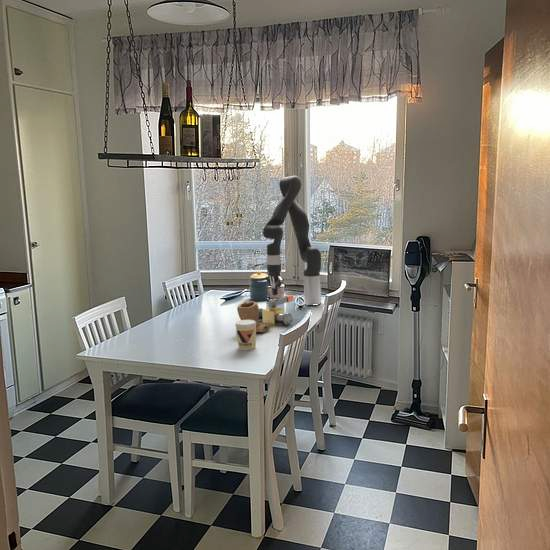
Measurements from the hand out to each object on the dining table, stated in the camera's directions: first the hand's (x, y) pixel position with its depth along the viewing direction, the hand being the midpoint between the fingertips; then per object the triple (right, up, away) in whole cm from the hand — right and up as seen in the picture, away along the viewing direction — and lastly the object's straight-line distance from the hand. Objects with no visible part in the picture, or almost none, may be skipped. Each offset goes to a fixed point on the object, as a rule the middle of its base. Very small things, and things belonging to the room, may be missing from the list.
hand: (275, 294), depth 309 cm
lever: (+3, -4, -7) cm, 9 cm away
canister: (-9, -4, +44) cm, 46 cm away
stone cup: (-11, -18, -25) cm, 32 cm away
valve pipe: (-1, -14, -10) cm, 17 cm away
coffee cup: (-13, -22, -49) cm, 56 cm away
